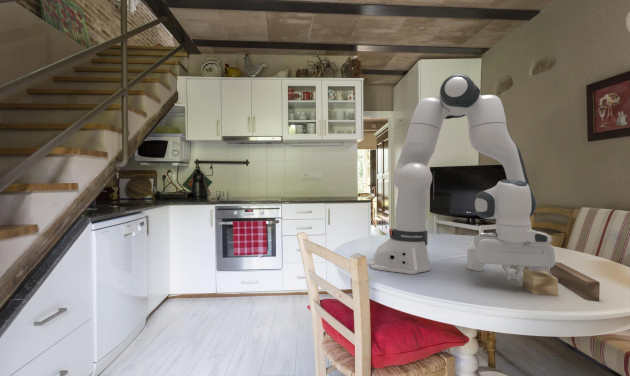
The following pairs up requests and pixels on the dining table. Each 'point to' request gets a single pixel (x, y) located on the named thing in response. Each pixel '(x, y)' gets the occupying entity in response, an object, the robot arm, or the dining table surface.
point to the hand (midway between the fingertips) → (512, 279)
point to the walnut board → (576, 281)
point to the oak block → (540, 282)
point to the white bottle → (473, 259)
